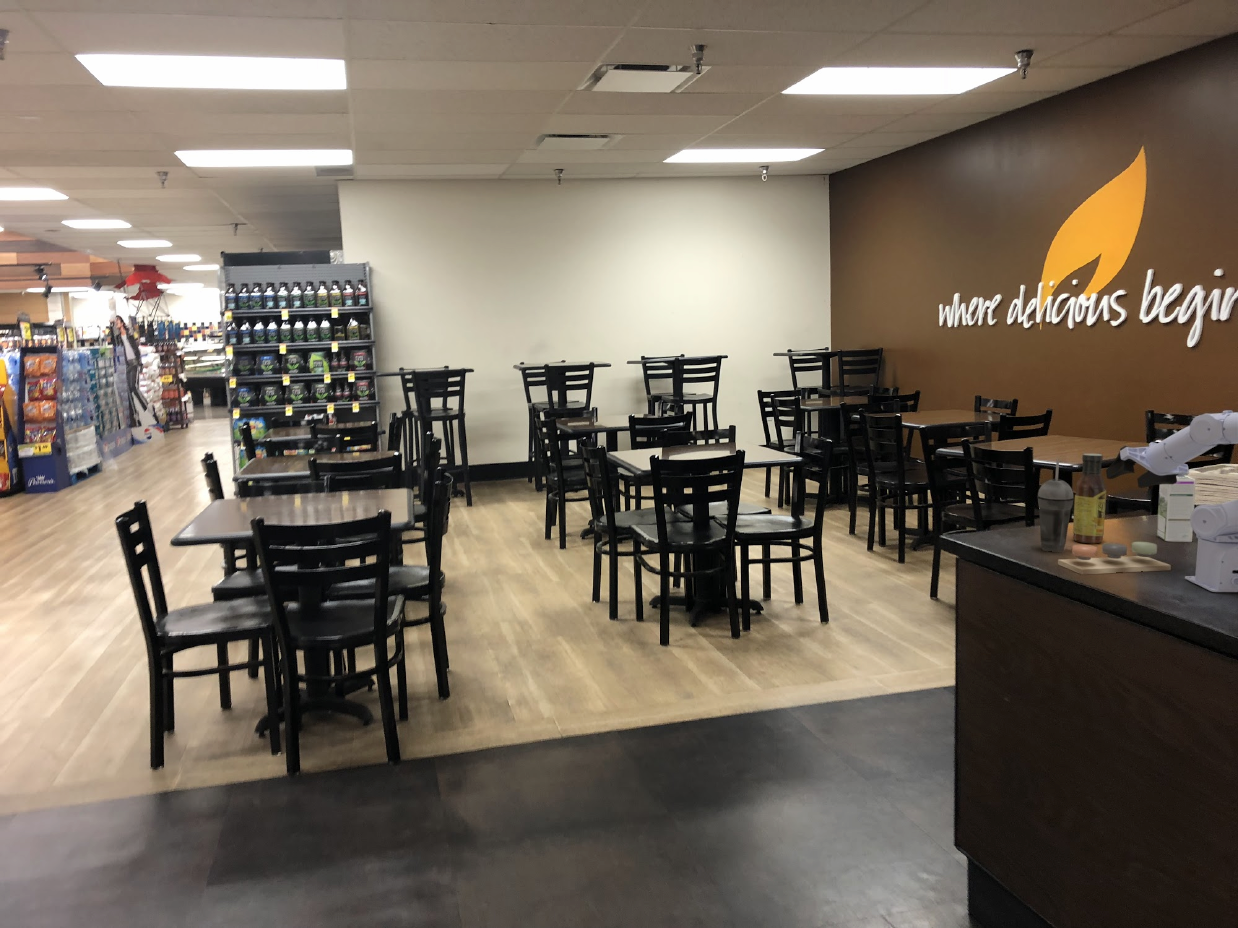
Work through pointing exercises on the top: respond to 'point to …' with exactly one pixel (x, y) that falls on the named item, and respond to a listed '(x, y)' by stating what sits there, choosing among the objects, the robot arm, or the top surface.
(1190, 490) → the syrup box
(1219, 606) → the top surface
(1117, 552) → the charcoal button
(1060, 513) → the beverage cup
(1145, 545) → the sage button
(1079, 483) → the sauce bottle
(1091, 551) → the terracotta button
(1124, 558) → the button board
